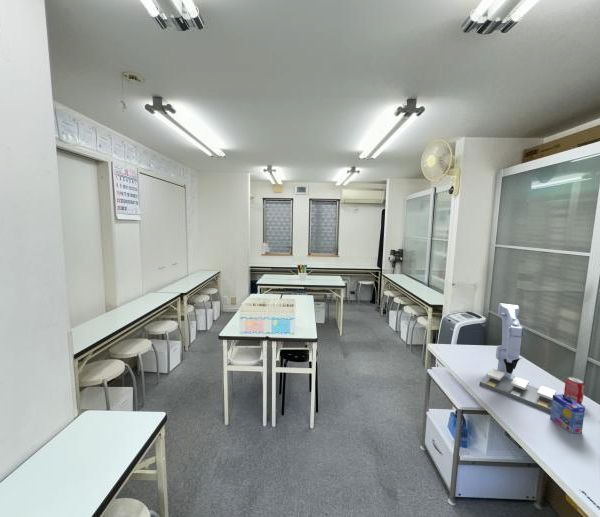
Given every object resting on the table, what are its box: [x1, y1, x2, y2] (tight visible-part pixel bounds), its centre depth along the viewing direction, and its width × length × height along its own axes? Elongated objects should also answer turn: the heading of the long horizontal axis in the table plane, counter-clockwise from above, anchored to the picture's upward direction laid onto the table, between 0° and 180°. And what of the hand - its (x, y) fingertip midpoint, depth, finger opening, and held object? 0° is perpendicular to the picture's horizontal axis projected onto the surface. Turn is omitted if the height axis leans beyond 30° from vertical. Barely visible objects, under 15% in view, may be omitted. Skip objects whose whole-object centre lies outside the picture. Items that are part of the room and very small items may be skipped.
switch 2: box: [511, 376, 530, 390], centre depth 150 cm, size 10×6×1 cm, turn 130°
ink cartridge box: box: [549, 393, 586, 434], centre depth 124 cm, size 10×6×14 cm, turn 5°
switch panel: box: [479, 374, 552, 414], centre depth 149 cm, size 18×32×2 cm, turn 40°
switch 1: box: [486, 368, 505, 381], centre depth 158 cm, size 10×6×1 cm, turn 130°
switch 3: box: [537, 385, 557, 400], centre depth 141 cm, size 10×6×1 cm, turn 130°
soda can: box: [563, 376, 586, 405], centre depth 142 cm, size 7×7×12 cm
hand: (510, 370), depth 152 cm, fingers open, 7 cm apart
